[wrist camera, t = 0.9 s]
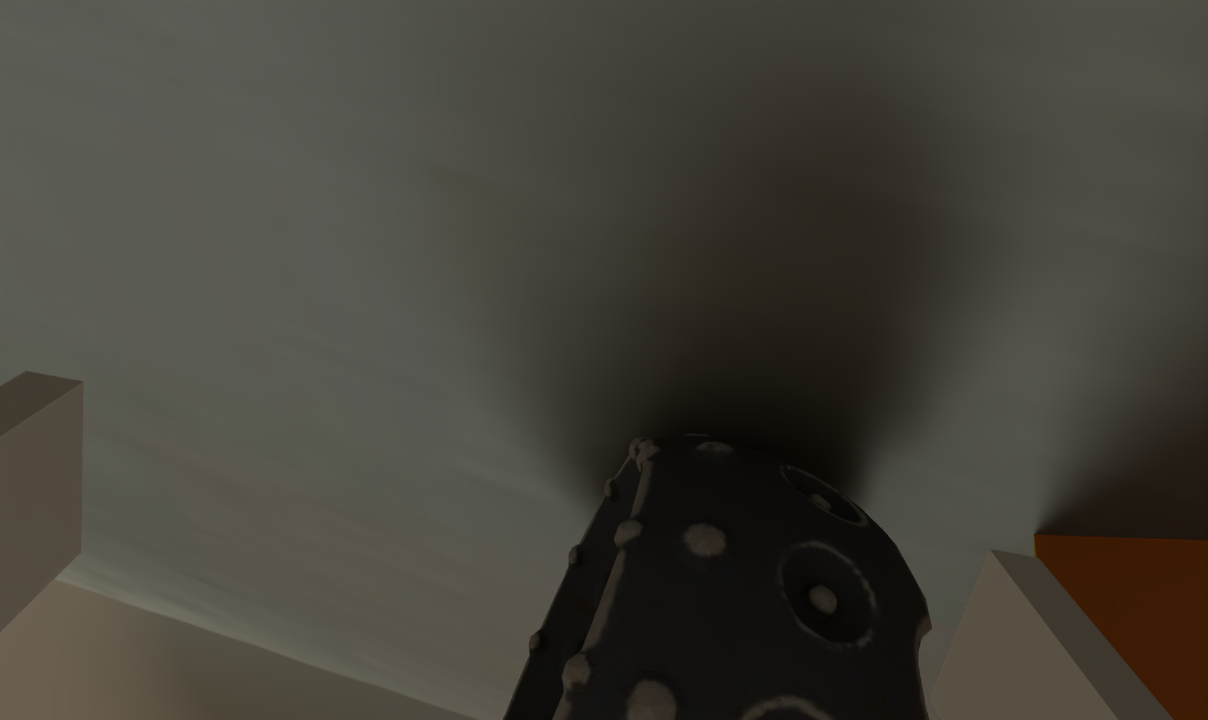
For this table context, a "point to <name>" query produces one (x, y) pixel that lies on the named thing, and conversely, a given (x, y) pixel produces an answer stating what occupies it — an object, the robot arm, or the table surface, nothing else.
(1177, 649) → the box
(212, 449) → the table surface
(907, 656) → the studded black puck
